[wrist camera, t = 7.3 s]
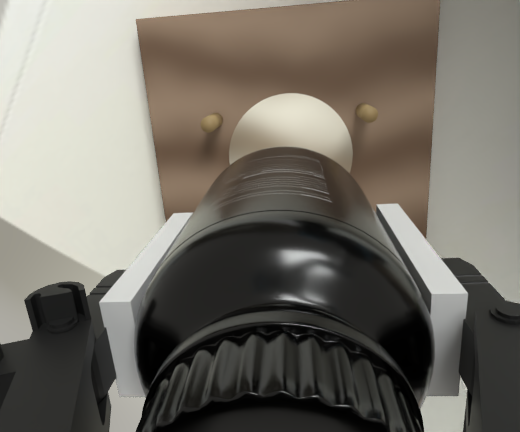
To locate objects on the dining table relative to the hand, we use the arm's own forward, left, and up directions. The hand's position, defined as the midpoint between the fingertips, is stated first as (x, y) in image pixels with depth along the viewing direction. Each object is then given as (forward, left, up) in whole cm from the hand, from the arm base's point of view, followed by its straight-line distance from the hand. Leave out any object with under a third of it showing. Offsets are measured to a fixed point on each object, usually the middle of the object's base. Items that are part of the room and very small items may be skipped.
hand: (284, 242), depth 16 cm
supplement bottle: (0, 0, -2) cm, 2 cm away
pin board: (0, 0, -18) cm, 18 cm away
